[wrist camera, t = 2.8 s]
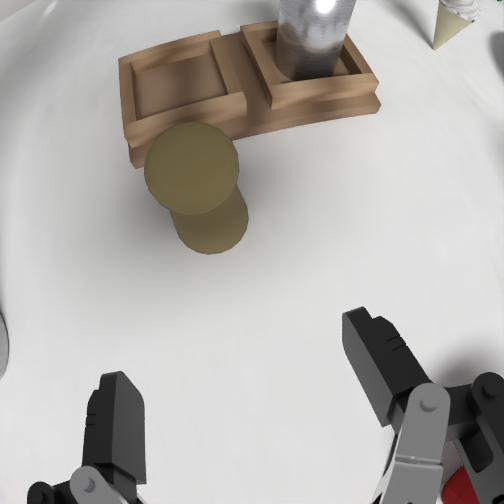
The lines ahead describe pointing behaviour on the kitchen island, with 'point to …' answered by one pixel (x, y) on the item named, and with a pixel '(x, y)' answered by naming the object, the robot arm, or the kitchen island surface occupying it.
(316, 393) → the kitchen island surface
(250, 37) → the brown wooden flat tray
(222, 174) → the cork
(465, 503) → the plastic cup
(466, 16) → the ice cream cone
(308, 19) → the steel billet
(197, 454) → the kitchen island surface
